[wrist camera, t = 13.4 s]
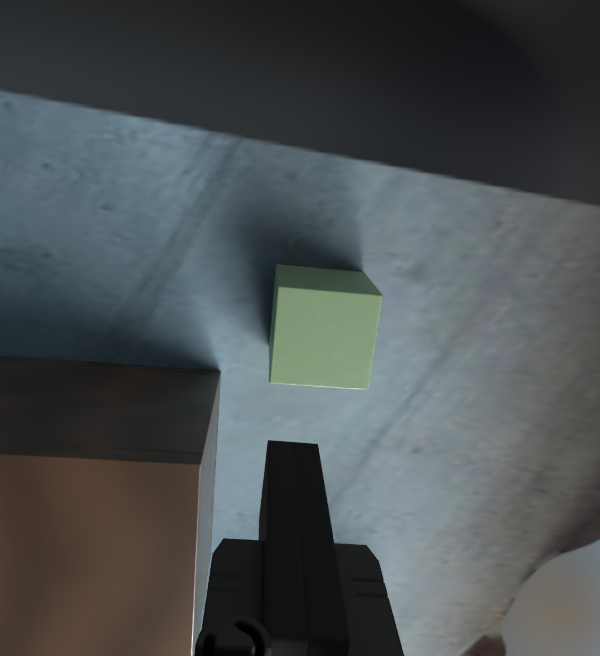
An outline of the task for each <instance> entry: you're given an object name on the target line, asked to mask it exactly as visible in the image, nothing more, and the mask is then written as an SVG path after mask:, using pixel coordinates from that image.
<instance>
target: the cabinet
mask: <svg viewBox="0 0 600 656" xmlns="http://www.w3.org/2000/svg"><path fill="white" fill-rule="evenodd" d="M220 380H221V371H210V370H195V369H180V368H166V367H151V366H137V365H122V364H108V363H93V362H78V361H64V360H49V359H35V358H20V357H5V356H0V656H194V653H195V644H196V641H197V639H198V636H199V632H200V625H201V618H202V611H203V604H204V597H205V590H206V583H207V576H208V569H209V562H210V555H211V538H212V521H213V503H214V486H215V468H216V450H217V433H218V415H219V398H220Z"/></svg>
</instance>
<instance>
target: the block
mask: <svg viewBox="0 0 600 656" xmlns="http://www.w3.org/2000/svg"><path fill="white" fill-rule="evenodd" d="M382 298H383V295H382V294H381V292H380V291H379V290H378V289H377V287H376V286H375V285H374V284H373V283H372V281H371V280H370V279H369V278H368V276H367V275H366V274H365V273H364V272H360V271H348V270H337V269H325V268H314V267H303V266H291V265H280V264H277V265H276V273H275V284H274V295H273V307H272V318H271V329H270V341H269V382H270V383H273V384H288V385H303V386H318V387H333V388H348V389H363V390H368V386H369V380H370V373H371V367H372V361H373V354H374V348H375V342H376V336H377V329H378V323H379V317H380V310H381V304H382Z"/></svg>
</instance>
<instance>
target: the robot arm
mask: <svg viewBox="0 0 600 656" xmlns="http://www.w3.org/2000/svg"><path fill="white" fill-rule="evenodd" d="M383 580H384V579H383V575H382V571H381V568H380V564H379V561H378V560H377V558H376V557H375V556H374V554H373V553H372V552H371V550H370V549H369V548H368V547H367V545H355V544H338V543H334V539H333V533H332V527H331V521H330V515H329V509H328V503H327V497H326V491H325V485H324V479H323V473H322V467H321V460H320V454H319V448H318V444H311V443H298V442H284V441H271V440H268V444H267V453H266V462H265V471H264V480H263V489H262V498H261V507H260V516H259V540H242V539H225V538H224V539H223V540H222V541H221V543H220V544H219V546H218V547H217V548H216V550H215V551H214V553H213V555H212V562H211V569H210V576H209V583H208V590H207V596H206V603H205V610H204V617H203V624H202V630H201V632H200V633H199V636H198V639H197V641H196V644H195V653H194V656H404V654H403V650H402V646H401V642H400V639H399V635H398V631H397V627H396V624H395V620H394V616H393V613H392V609H391V605H390V601H389V598H388V594H387V590H386V586H385V583H384V581H383Z"/></svg>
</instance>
